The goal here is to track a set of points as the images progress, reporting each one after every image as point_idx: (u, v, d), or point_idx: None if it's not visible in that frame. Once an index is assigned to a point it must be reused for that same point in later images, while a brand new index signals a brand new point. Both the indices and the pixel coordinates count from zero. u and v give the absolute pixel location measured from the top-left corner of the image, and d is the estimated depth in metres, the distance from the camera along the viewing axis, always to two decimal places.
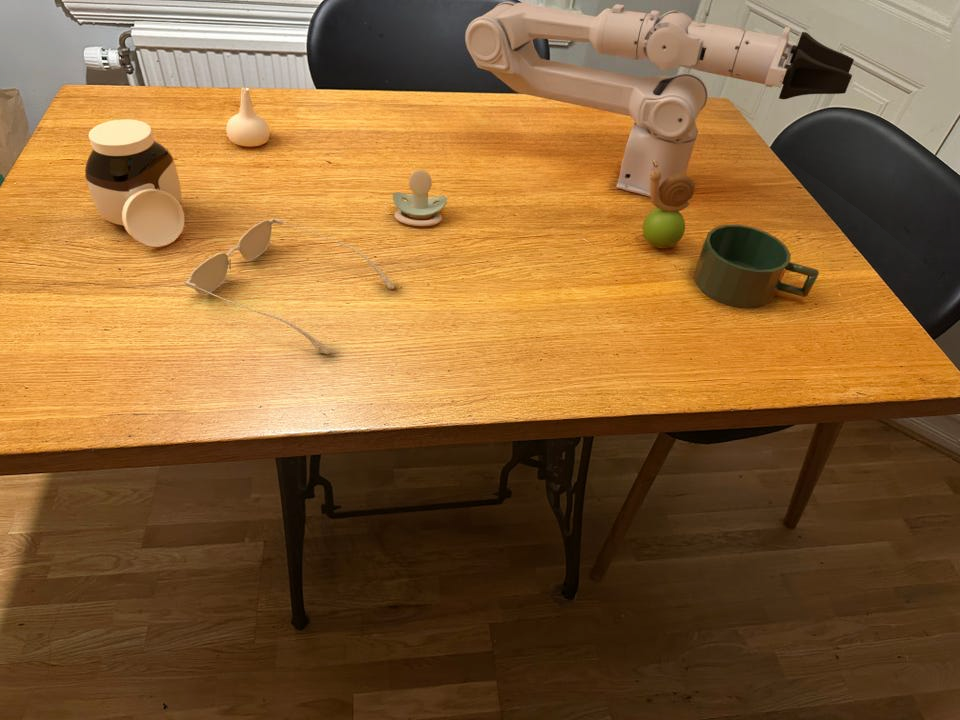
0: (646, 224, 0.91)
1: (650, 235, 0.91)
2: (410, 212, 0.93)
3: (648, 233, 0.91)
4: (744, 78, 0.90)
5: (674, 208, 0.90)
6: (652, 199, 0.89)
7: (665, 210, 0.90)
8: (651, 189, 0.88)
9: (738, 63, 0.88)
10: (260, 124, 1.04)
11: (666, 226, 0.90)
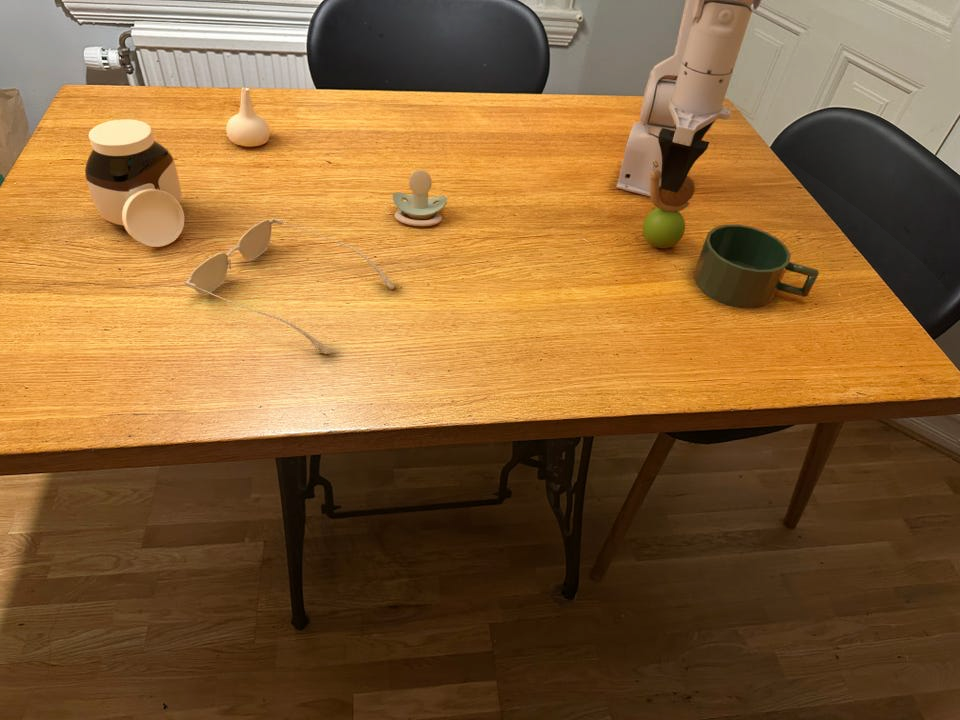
0: (646, 224, 0.91)
1: (650, 235, 0.91)
2: (410, 212, 0.93)
3: (648, 233, 0.91)
4: (680, 80, 0.78)
5: (674, 208, 0.90)
6: (652, 199, 0.89)
7: (665, 210, 0.90)
8: (651, 189, 0.88)
9: (699, 77, 0.76)
10: (260, 124, 1.04)
11: (666, 226, 0.90)
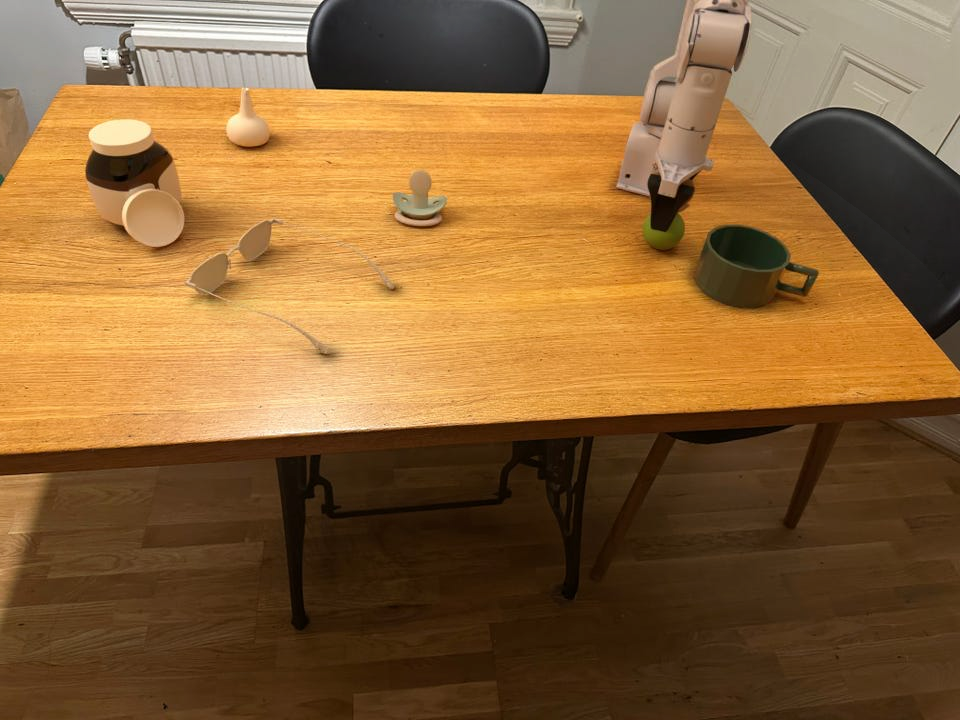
0: (646, 226, 0.91)
1: (650, 237, 0.91)
2: (410, 212, 0.93)
3: (648, 235, 0.91)
4: (666, 135, 0.83)
5: None
6: None
7: None
8: None
9: (682, 133, 0.81)
10: (260, 124, 1.04)
11: None
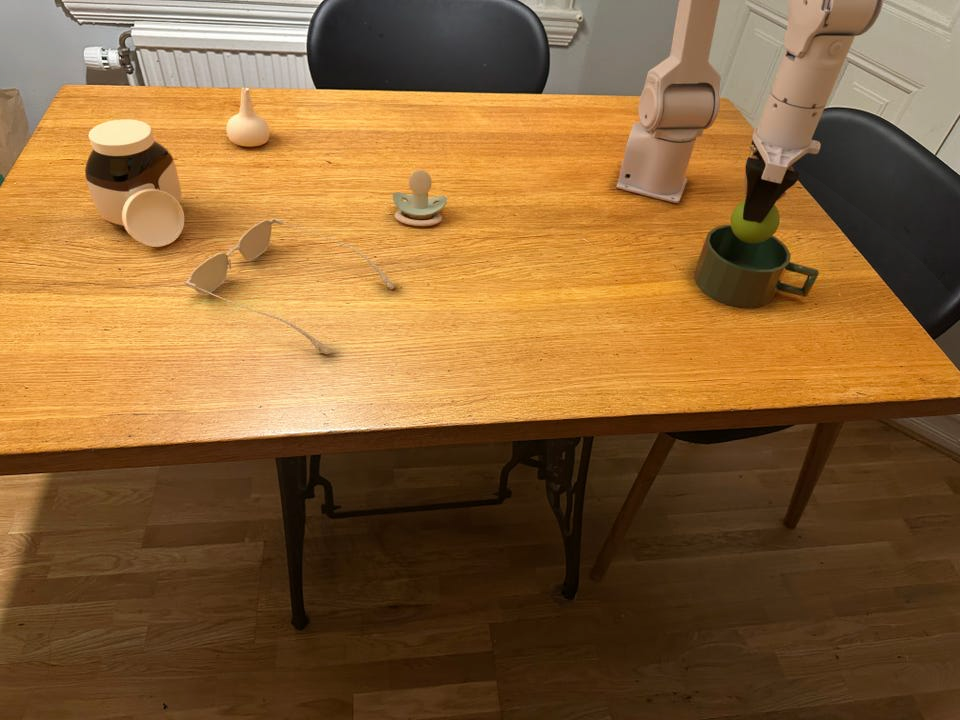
0: (736, 217, 0.82)
1: (741, 230, 0.81)
2: (410, 212, 0.93)
3: (738, 227, 0.82)
4: (769, 113, 0.73)
5: None
6: (746, 189, 0.79)
7: None
8: (746, 177, 0.78)
9: (791, 110, 0.71)
10: (260, 124, 1.04)
11: None
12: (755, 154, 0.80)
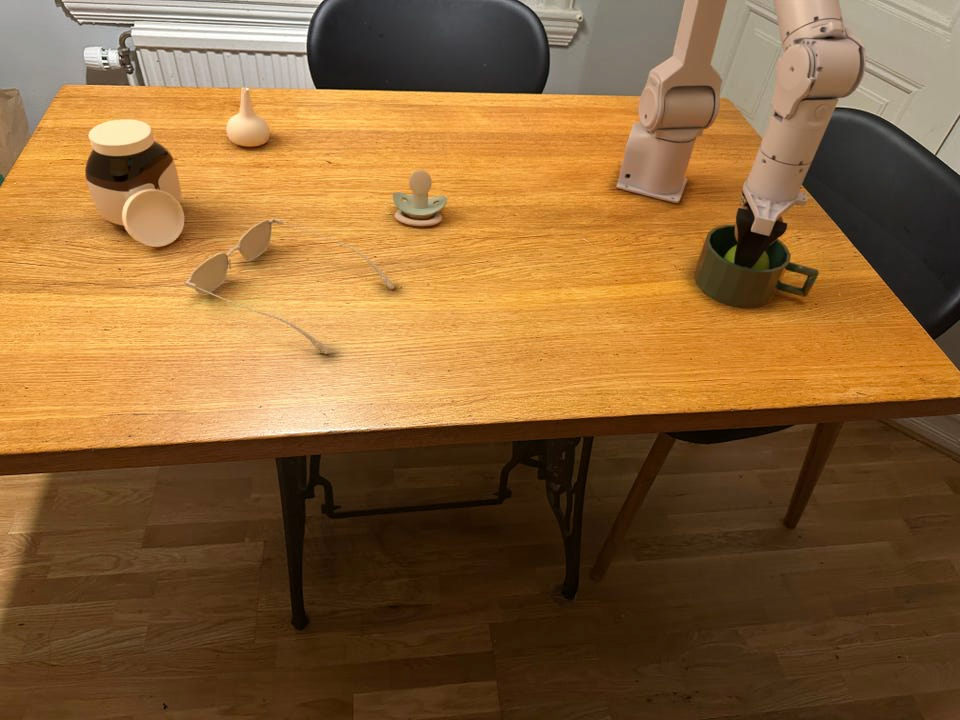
0: None
1: None
2: (410, 212, 0.93)
3: None
4: (758, 168, 0.77)
5: None
6: (737, 236, 0.83)
7: None
8: None
9: (779, 166, 0.75)
10: (260, 124, 1.04)
11: None
12: None
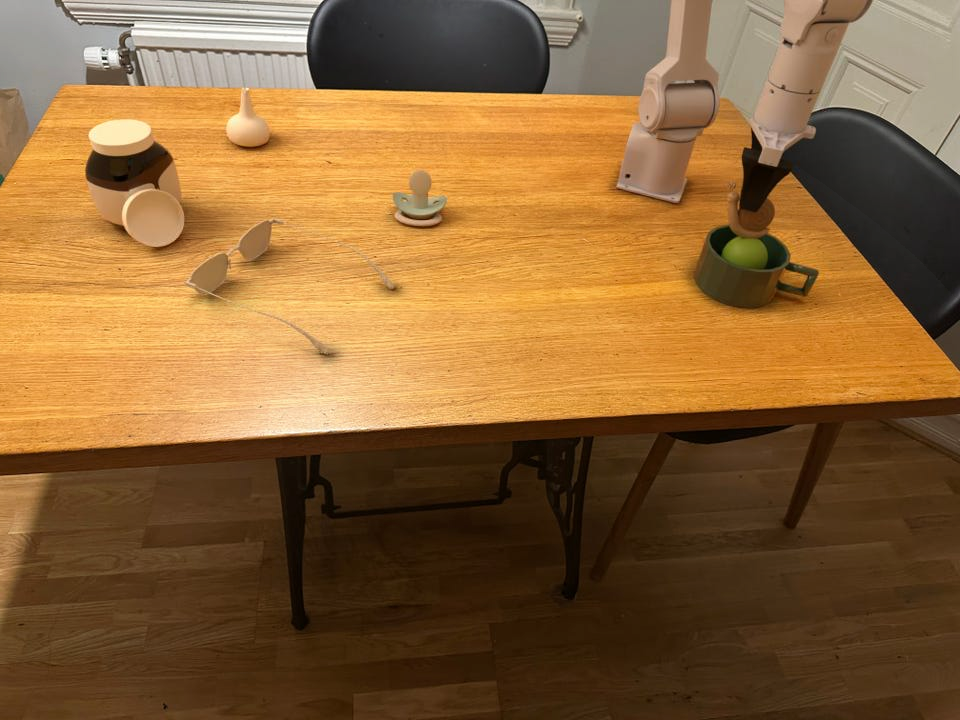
0: (726, 254, 0.86)
1: None
2: (410, 212, 0.93)
3: None
4: (766, 99, 0.76)
5: (755, 234, 0.85)
6: (731, 224, 0.84)
7: (745, 236, 0.85)
8: (730, 213, 0.83)
9: (787, 95, 0.74)
10: (260, 124, 1.04)
11: (750, 251, 0.84)
12: (754, 135, 0.84)
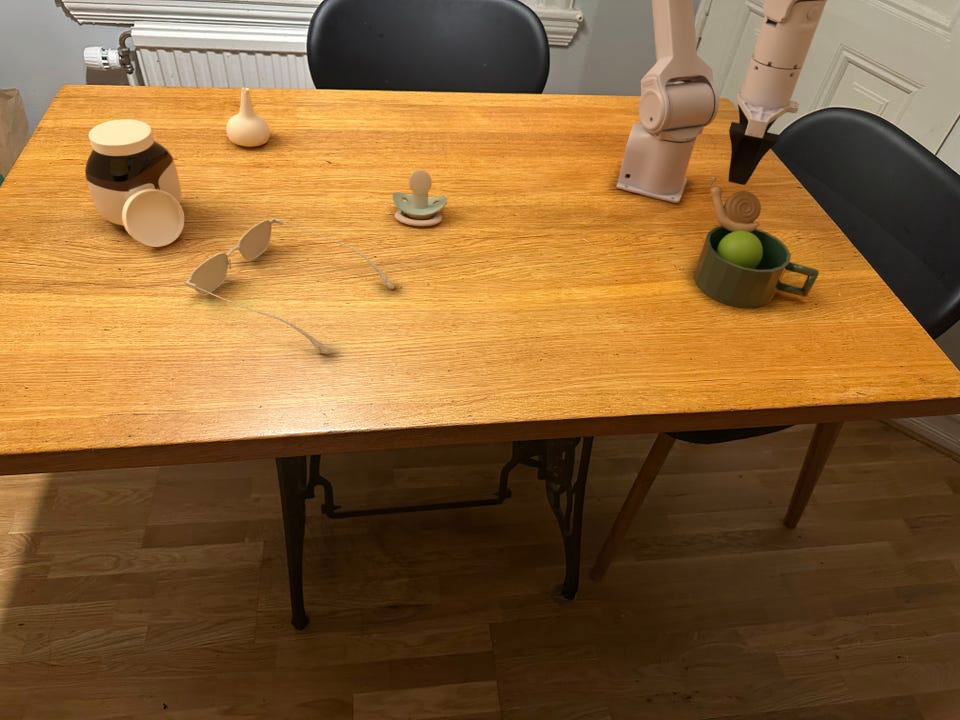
0: (719, 247, 0.86)
1: (726, 253, 0.85)
2: (410, 212, 0.93)
3: (723, 253, 0.85)
4: (751, 75, 0.80)
5: (744, 226, 0.86)
6: (719, 217, 0.86)
7: (736, 229, 0.86)
8: (715, 206, 0.86)
9: (770, 71, 0.78)
10: (260, 124, 1.04)
11: (741, 238, 0.85)
12: (741, 113, 0.88)
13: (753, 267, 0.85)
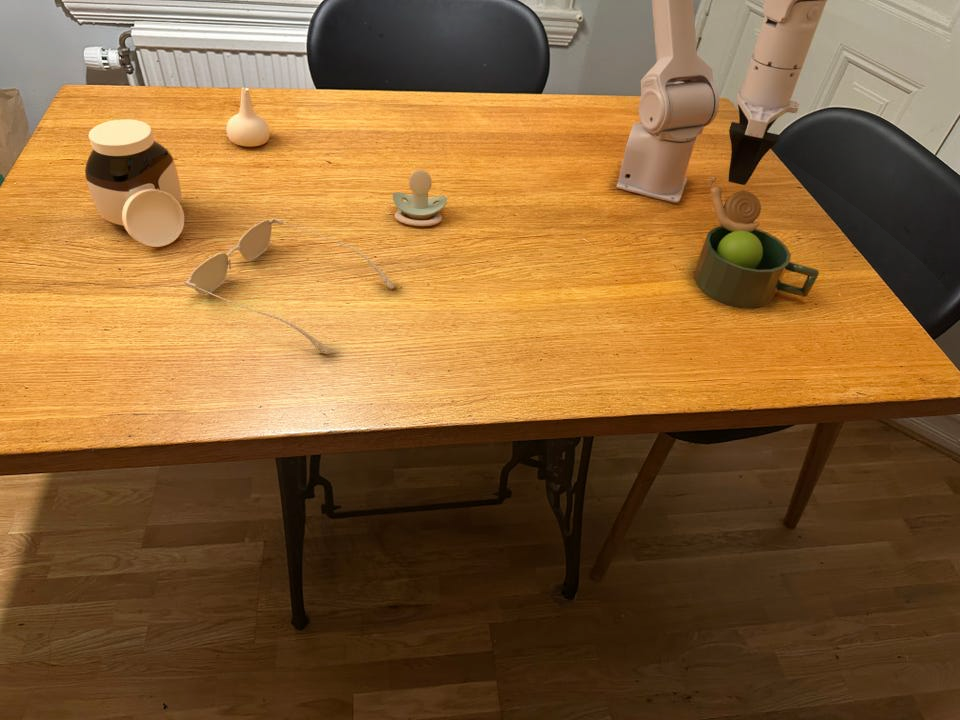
0: (719, 247, 0.86)
1: (726, 253, 0.85)
2: (410, 212, 0.93)
3: (723, 253, 0.85)
4: (751, 75, 0.80)
5: (744, 226, 0.86)
6: (719, 217, 0.86)
7: (736, 229, 0.86)
8: (715, 206, 0.86)
9: (770, 71, 0.78)
10: (260, 124, 1.04)
11: (741, 238, 0.85)
12: (741, 113, 0.88)
13: (753, 267, 0.85)
